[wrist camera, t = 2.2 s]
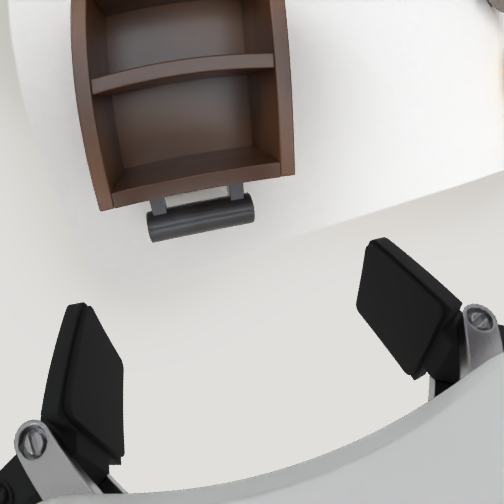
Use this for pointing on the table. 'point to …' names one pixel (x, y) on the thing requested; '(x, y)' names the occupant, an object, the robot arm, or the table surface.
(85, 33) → the walnut shelf
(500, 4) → the figurine character
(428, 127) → the table surface
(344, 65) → the table surface
